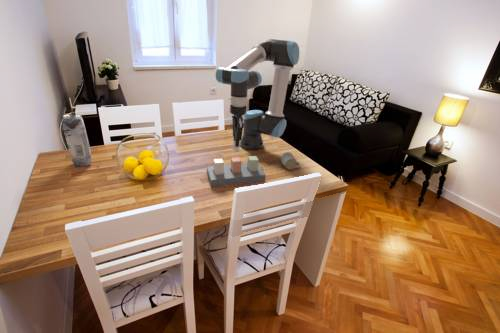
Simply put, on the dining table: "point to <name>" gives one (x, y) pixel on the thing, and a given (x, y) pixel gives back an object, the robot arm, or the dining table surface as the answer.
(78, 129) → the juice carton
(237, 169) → the key terracotta
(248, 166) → the key sage
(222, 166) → the key cream
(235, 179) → the console
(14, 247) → the dining table surface
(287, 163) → the ceramic mug
